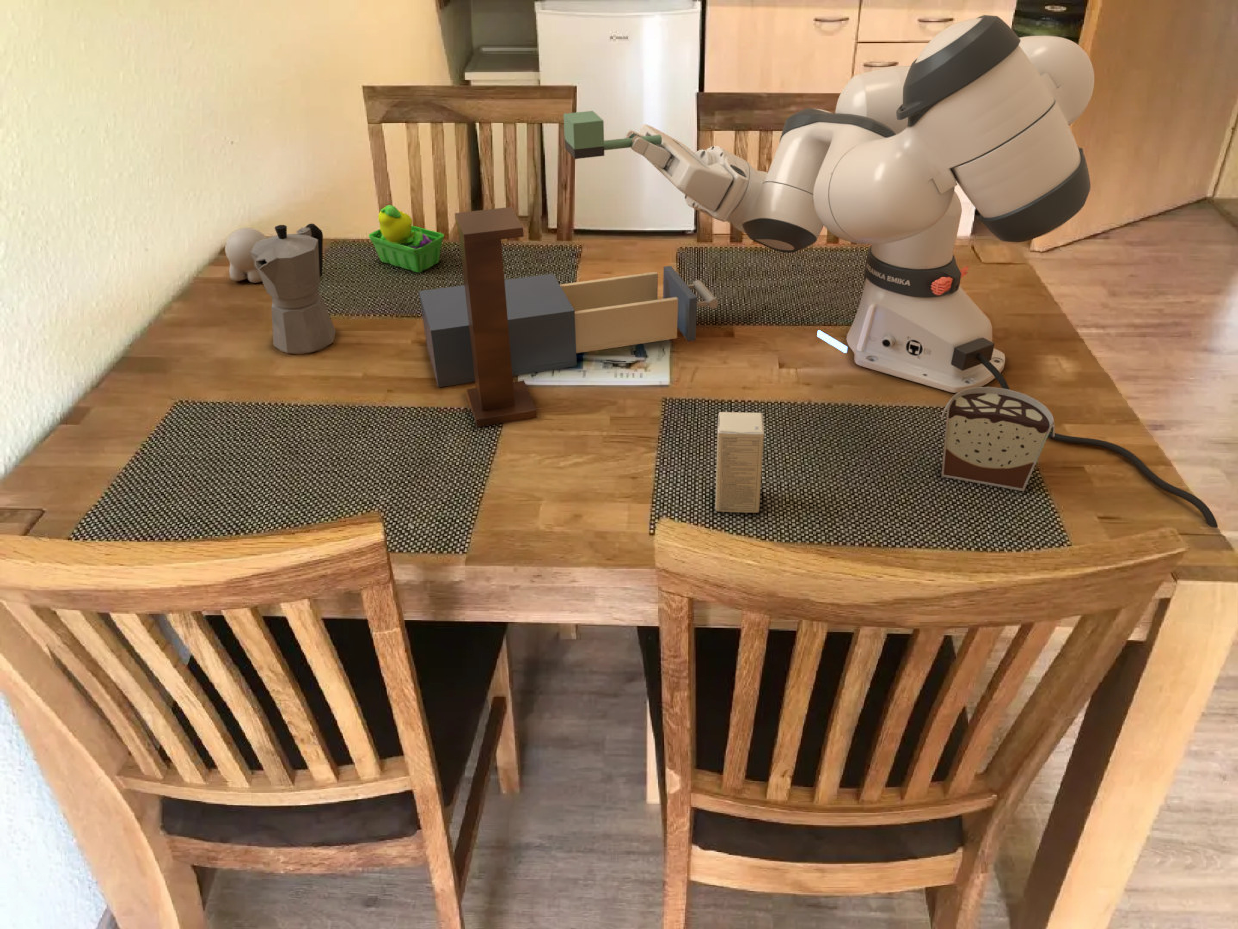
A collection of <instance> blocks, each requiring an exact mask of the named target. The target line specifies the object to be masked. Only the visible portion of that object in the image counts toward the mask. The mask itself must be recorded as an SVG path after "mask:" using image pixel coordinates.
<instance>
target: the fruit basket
mask: <svg viewBox="0 0 1238 929" xmlns="http://www.w3.org/2000/svg"><path fill="white" fill-rule="evenodd" d="M377 216H378V217H377V220H378V223H379V229H377V230H375V231H373V232H370V233H369V234H368V238H369V239H370V242H372V245H373V247H374V248H375V250H376V253H377V256H378V257H379V260H380V262H382V263H385V264H389V265H391V266H395V267H398V268H401V269H405V270H408V271H412V272H413V273H418V274H421V273H422V272H423V271H427V270H428V269H429V268H431V267H433V266H434V265H437V264H439V262H440V258H441V257H440V256H441V249H442V243H443V241H444V236H445V235H444V233H442V232H438V231H435V230H430V229H427V228H423V227H420V226H415V225H413V218H412V217H411V216H410V215H409V214H408V213H406V212H404V211H402V210H399V209H398V208H397V207H396V206H394V205H391V204H388V205H385V206H384V207H383V208H381V209H380V211H379V213H378V215H377Z"/></svg>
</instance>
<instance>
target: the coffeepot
mask: <svg viewBox="0 0 1238 929" xmlns="http://www.w3.org/2000/svg"><path fill="white" fill-rule="evenodd" d="M274 231H275V232H276V235H272V236H269V237H266V238H267V239H264V240H261V241H258V242H256V243H255V245H254V247H253V249H252V250H251V255H252V257H253V260H254V262H255V267H256V268H257V270H258V272H259V274H260V277H261V279H262V281H261V282H262V284H263V286H264V289H265V291H266V293H267V294H268V295H269V296H271V302H272V304H271V321H272V322H271V323H272V344H273V345H272V346H274V347H275V348H276V349H277V350H278V351H280V352H283V353H286V354H292V355H303V354H311V353H314V352H318V351H321V350H323V349H326V348H327V347H329V346H330V345H331V344H332V343H333V342H334V341H335V339H336V338H335V336H336V332H337V331H336V329H335V325H334V324H333V321H332V318H331V316H330V313H329V311H328V308H327V306H326V302H325V301H324V298H323V296H322V295H321V294H320V291H319V288H320V283H321V279H320V278H321V277H322V276H323V265H324V264H323V263H324V262H323V260H324V257H323V255H324V254H323V252H324V251H323V250H324V248H323V244H324V235H323V234H324V233H323V230H321V228H319V227H318V226H317V225H316V224H315V223H308V224H307V225H306V226H304V227H300V228H299V229H297V230H296V233H289V234H288V225H285V224H277V225H276V226H274Z"/></svg>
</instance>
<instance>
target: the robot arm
mask: <svg viewBox="0 0 1238 929" xmlns="http://www.w3.org/2000/svg"><path fill="white" fill-rule="evenodd" d="M1094 70H1095V69H1094V67H1093V63H1092V61H1091V58H1090V57H1089V55H1088V53H1087V52H1086V51H1085V49H1083V48H1082V47H1081V46H1080V44H1078V43H1076V42H1075V41H1072V40H1070V39H1068V38H1066V37H1061V36H1054V35H1026V36H1022V37H1019V36H1018V35H1017V33H1016V32H1015V31H1014V30H1013V29H1012V28H1011V27H1010V25H1008V24H1007V22H1006V21H1004V20H1003V19H1002V18H1000V17H999V16H998V15H990V14H988V15H987V14H982V15H980V16H978V17H976V18H970V19H966V20H962V21H959V22H956V23H954V24H952V25H950V26H948V27H946V28H945V29H942V30H941V31H940V32H938V34H937V33H936V35H935V36H934V37H933V38H932V39H930V40H929V42H928V43H927V44H926V45H925V46H924V47H923V49H922V50H921V51H920V53H919V55H918V56H917V58H915V60H914V61H912V63H911V65H900V66H898V65H896V66H886V67H882V68H878V69H874V70H869V71H865V72H863V73H859V74H856V75H854V76H852V77H851V78H850V79H849V80H848V82H846V84H845V85H844V87H843V89H841V92H840V94H839V97H838V98H837V102H836V106H835V110H834V111H835V112H831V111H828V110H826V109H821V108H810V107H806V108H804V109H801V110H799V111H797V112H795V113H793V114H792V115H790V116H788V117H787V118H786V119H785V122H784V125H783V128H782V131H781V135H780V138H779V142H778V146H777V148H776V150H775V152H774V156H773V159H772V161H771V163H770V166H769V169H768V170H767V171H764V170H759V169H756V168H754V167H753V165H751V163H750V162H748V161H747V160H746V159H744V158H742V157H739V156H738V155H736V154H735V153H733V152H730V151H728V150H726V149H725V148H723V147H721V146H719V145H712V146H709V147H708V148H706V149H699V150H697V151H696V152H694V151H693V150H692V149H690V148H689V146H687V145H686V144H684V143H682V142H680V141H679V140H678V139H675V138H673V137H672V136H670V135H669V134H666V133H665V132H663V131H661V130H660V129H657V128H655V127H653V126H651V125H649V124H643V125H642V126H641V127H640V129H639V131H638V132H636V131H634V130H633V129H628V130H627V131H626V134H625V136H624V137H623V139H624V138H633V139H632V141H631V143H630V149H631V150H632V151H633V152H634V153H637V154H639V155H640V156H643V157H644V159H646V160H647V161H648V162H649V163H650V164H651V165H652V167H654V168H656V170H658V171H659V173H661V175H663V176H664V177H665V179H667V180H668V181H669V182H670V183H671V184H672V185H673V186H674V187H676V189H677V190H678V191H679V192H681V193H683V195H684V200H685V203H686V204H687V206H688V207H689V208H692V209H694V210H696V211H698V212H701V213H702V214H704V215H707V216H709V217H710V218H712V219H714V220H717V221H720V222H723V223H725V222H726V223H727V222H728V223H729V224H731V225H732V226H733V227H734V228H735V229H737V230H738V231H740V232H741V233H744V234H745V235H747V236H748V238H749V239H750V240H752V241H753V242H756V243H758V244H760V245H762V246H764V247H766V248H768V249H771V250H773V251H776V252H780V253H785V254H793V253H797V252H799V251H802V250H804V249H807V248H809V247H810V246H812V245H814V244H815V243H816V242H818V239H819V236H820V235H821V233H822V231H823V229H824V228H825V229H826V230H827V231H828V232H830V233H831V234H832V235H834V236H835V237H837V238H839V239H840V240H843V241H846V242H849V243H851V244H857V245H863V246H864V245H865V246H866V245H868V246H869V247H868V250H867V254H866V259H865V265H864V271H863V280H864V285H863V289H862V290H863V291H862V294H861V298H860V301H859V305H858V307H857V311H856V314H855V317H854V319H853V322H852V323H851V326H850V328H849V330H848V332H847V333H846V338H845V340H846V343H847V345H845V344H843V343H842V342H840V341H838V340H837V339H835V338H834V337H832V336H830V335H829V334H827V333H825V332H823V331H821V330H820V329H819V330H817V333H816V334H817V335H816V336H817V338H819V339H821V340H823V341H824V342H826V343H827V344H829V345H830V346H833V347H834V348H836V349H838V350H839V351H841V352H842V353H844V354H846V353H848V347H849V348H850V350H851V351H852V352H853V354H854V356H853V360H854V363H855V364H856V365H858V366H859V367H863V368H866V369H870V370H872V371H876V372H880V373H883V374H887V375H891V376H894V377H896V378H899V379H900V378H901V379H904V380H906V381H907V380H908V381H911V382H914V383H917V384H920V385H924V386H928V387H931V388H935V389H938V390H941V391H945V392H949V393H952V394H953V393H954V394H957V393H959V392H960V391H963V390H966V389H970V388H977V387H985V386H986V385H987V384H989V383H990V382H992V381H993V380H996V381H997V382H998V384H999V385H1000V388H1004V389H1009V390H1011V389H1010V387H1009V385H1008V382H1007V380H1006V379H1005V377H1004V376H1003V374H1002V371H1003V370H1004V368H1005V365H1006V355H1005V353H1004V352H1002V351H1000V350H999V349H997V348H995V345H996V343H995V342H993V325H992V323H991V322H992V321H991V320H990V318H989V317H988V316H987V315H986V314H985V313H984V312H983V310H981V309H980V307H979V306H978V305H977V304H976V302H974V300H973V299H972V298H971V297H970V295H969V294H968V293H967V292H966V291H965V289H964V288H963V287H962V286H961V279H962V278H963V277H965V276H966V275H967V274H968V273H969V272H968V270H969V268H970V267H969V265H966V266H965V267H963V268H959V267H958V264H957V260H956V257H955V254H954V253H955V248H956V243H957V237H958V232H959V227H960V222H961V217H962V214H963V213H962V212H963V208H962V203H961V200H960V197H959V195H958V193H957V192H956V190H955V189H956V188H955V187H957V186H959V187H960V189H961V190H962V192H963V193H964V195H965V196H966V197H967V199H968V200H969V202H970V203H971V204H972V205H973V207H974V208H975V209H976V210H977V211H978V213H979V220H980V221H981V222H982V224H983V225H984V226H985V227H986V228H987V229H988V230H989V232H990V233H992V234H993V235H994V236H995V237H996V238H997V239H998V240H1000V241H1002V242H1005V243H1007V242H1008V243H1025V242H1028V241H1031V240H1034V239H1037V238H1040V237H1043V236H1046V235H1049V234H1050V233H1053V232H1054V231H1056V230H1058V229H1059V228H1061V227H1063V226H1064V225H1065V224H1066V223H1067V222H1069V221H1070V220H1071V219H1072V218H1073V217H1075V216H1076V215H1077V214H1079V212H1080V211H1081V210H1082V209H1083V207H1084V206H1085V205H1086V202H1087V199H1088V197H1089V194H1090V191H1091V177H1090V173H1089V167H1088V164H1087V160H1086V156H1085V154H1084V149H1083V147H1079V146H1078V144H1077V141H1076V138H1075V136H1074V134H1073V133H1074V132H1073V131H1072V128H1071V127H1070V126H1071V125H1072V124H1073V123H1075V122H1076V121H1077V120H1079V118H1080V117H1081V116H1082V115H1083V113H1084V112H1085V110H1086V109H1087V107H1088V105H1089V103H1090V101H1091V99H1092V96H1093V92H1094V88H1095V71H1094ZM653 135H661V138H662V143H661V144H658V145H654V144H652V143H650V142H648V141H646V140H645V139H643V138H641V137H643V136H653ZM1047 439H1050V440H1053V441H1057V442H1061V443H1065V444H1066V443H1067V444H1072V445H1081V446H1082V445H1083V446H1089V447H1091V446H1092V447H1096V448H1102V449H1106V450H1109V451H1112V452H1114V453H1116V454H1118V455H1120V456H1121V457H1124V458H1125V459H1126V460H1128V461H1129V462H1130V463H1132V465H1134V466H1135V467H1136V468H1137V469H1138V470H1139V471H1140V473H1141V474H1142V475H1143V476H1144V477H1145V478H1146V479H1147V480H1149V481H1150V482H1151V483H1153V485H1155V486H1157V487H1158V488H1160V489H1162V490H1163V491H1165V492H1167V493H1169V494H1171V495H1174V496H1177V497H1179V498H1180V499H1182V500H1185V501H1187V502H1189V503H1190V504H1192V505H1193V506H1194V507H1195V508H1197V509H1198V511H1199V512H1200V513H1201V514H1202V516H1203V517H1204V519H1205V521H1206V523H1207V525H1208V526H1209V527H1211V528H1215V529H1217V528H1218V527H1219V525H1218V521H1217V520H1216V517H1215V515H1214V514H1213V512H1212V511H1211V509H1210V508H1209V506H1207V504H1206V503H1205V502H1204V501H1203V500H1202V499H1200V498H1198V496H1196V495H1194V494H1193V493H1190V492H1188V491H1186V490H1184V489H1181V488H1179V487H1177V486H1175V485H1172V484H1170V483H1169V482H1166V481H1165V480H1163V479H1162V478H1161V477H1159V476H1158V475H1157V474H1155V473H1154V472H1153V471H1152V470H1151V469H1150V468H1149V467H1148V466H1147V465H1146V463H1144V462H1143V460H1141V459H1140V458H1139V457H1138V456H1137V455H1135V454H1134V453H1133V452H1131V451H1130V450H1128V449H1126V448H1124V447H1122V446H1120V445H1118V444H1115V443H1112V442H1109V441H1106V440H1103V439H1102V440H1101V439H1098V438H1097V439H1096V438H1090V437H1081V436H1072V435H1066V434H1061V433H1057V432H1055V437H1053V435H1052V432H1051V430H1050V433H1049V435H1048V437H1047Z"/></svg>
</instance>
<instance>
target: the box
mask: <svg viewBox="0 0 1238 929" xmlns="http://www.w3.org/2000/svg"><path fill="white" fill-rule="evenodd" d="M717 416H718V417H717V436H716V438H717V439H716V441H717V442H716V467H715V468H716V470H715V471H716V473H715V474H716V475H715V502H714V503H715V505H714V507H715V511H716V512H722V513H743V514H744V513H745V514H746V513H748V514H750V513H754V514H756V513H759V512H760V502H761V485H762V484H761V483H762V470H763V457H764V456H763V454H764V439H765V423H764V422H765V421H764V414H763V413H762V412H745V411H744V412H743V411H742V412H741V411H738V412H737V411H735V412H733V411H720V412H718V415H717Z"/></svg>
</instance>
